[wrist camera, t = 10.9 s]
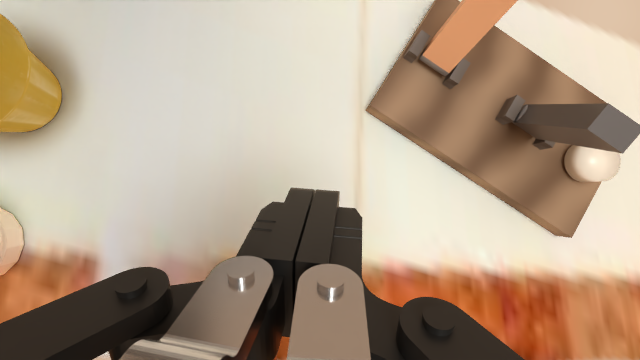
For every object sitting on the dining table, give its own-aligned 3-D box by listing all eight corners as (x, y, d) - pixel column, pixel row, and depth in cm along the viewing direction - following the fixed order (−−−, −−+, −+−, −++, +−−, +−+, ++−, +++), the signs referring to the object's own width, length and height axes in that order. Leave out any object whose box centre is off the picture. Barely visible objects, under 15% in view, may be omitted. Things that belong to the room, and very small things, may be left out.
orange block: (416, 62, 33) (512, -59, 23) (422, 51, 34) (516, -69, 24) (442, 80, 33) (548, -33, 23) (447, 68, 34) (551, -45, 24)
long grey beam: (507, 121, 34) (587, 129, 23) (520, 104, 34) (608, 103, 23) (532, 138, 34) (622, 153, 23) (545, 121, 34) (644, 128, 23)
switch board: (365, 110, 35) (374, 100, 31) (434, 1, 36) (450, -21, 33) (556, 235, 36) (585, 239, 33) (614, 125, 38) (649, 117, 34)
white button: (557, 168, 34) (574, 166, 32) (575, 134, 34) (593, 130, 32) (589, 189, 34) (608, 189, 32) (607, 156, 35) (627, 153, 33)
